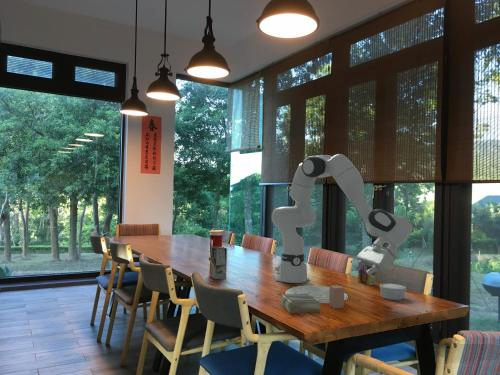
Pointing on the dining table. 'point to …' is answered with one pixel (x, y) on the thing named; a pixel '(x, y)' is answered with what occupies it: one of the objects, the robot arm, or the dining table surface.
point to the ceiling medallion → (314, 292)
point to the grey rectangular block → (336, 296)
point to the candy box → (364, 277)
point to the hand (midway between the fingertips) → (361, 271)
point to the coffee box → (218, 262)
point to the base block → (300, 303)
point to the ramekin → (392, 291)
